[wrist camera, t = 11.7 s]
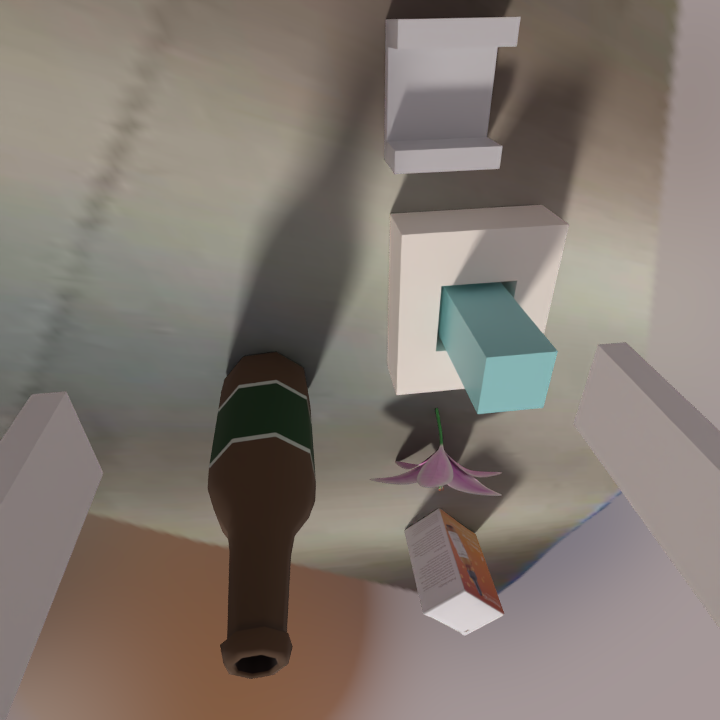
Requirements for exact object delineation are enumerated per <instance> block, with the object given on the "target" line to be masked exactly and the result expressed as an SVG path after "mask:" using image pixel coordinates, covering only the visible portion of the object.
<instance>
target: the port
mask: <svg viewBox="0 0 720 720" xmlns="http://www.w3.org/2000/svg"><path fill="white" fill-rule="evenodd" d="M568 227H569V224H568V223H567V222H565V221H564V220H562V219H561V218H560V217H558V216H557V215H556V214H554V213H553V212H551V211H550V210H549V209H547V208H546V207H544V206H543V205H528V206H511V207H494V208H477V209H460V210H443V211H425V212H408V213H391V214H390V244H389V297H388V350H387V366H388V369H389V372H390V375H391V379H392V382H393V385H394V389H395V392H396V395H403V394H414V393H424V392H435V391H445V390H456V389H465V388H464V386H463V384H462V382H461V379H460V377H459V375H458V373H457V371H456V369H455V367H454V365H453V363H452V361H451V359H450V357H449V355H448V353H447V351H446V349H445V347H444V345H443V343H442V341H441V339H440V337H439V335H438V333H437V332H438V321H439V309H440V297H441V286H450V285H464V284H477V283H491V282H501V283H502V285H503V286H504V287H505V288H506V289H507V291H508V292H509V293H510V294H511V295H512V297H513V298H514V299H515V300H516V302H517V303H518V304H519V305H520V306H521V308H522V309H523V310H524V311H525V312H526V314H527V315H528V316H529V317H530V318H531V320H532V321H533V322H534V323H535V325H536V326H537V327H538V328H539V329H540V331H541V332H542V333H543V334H544V331H545V327H546V323H547V318H548V314H549V310H550V305H551V301H552V297H553V292H554V288H555V284H556V279H557V275H558V271H559V266H560V262H561V258H562V253H563V249H564V245H565V240H566V236H567V232H568Z"/></svg>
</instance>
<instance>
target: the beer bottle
mask: <svg viewBox="0 0 720 720" xmlns="http://www.w3.org/2000/svg"><path fill="white" fill-rule="evenodd" d="M315 490H316V479H315V465H314V451H313V437H312V423H311V409H310V401H309V395H308V389H307V384H306V378H305V372H304V368H303V367H301V366H300V365H298V364H296V363H295V362H293V361H291V360H289V359H288V358H286V357H284V356H283V355H281V354H279V353H277V352H271V353H264V354H257V355H249V356H244V357H243V358H242V359H241V360H240V361H239V363H238V364H237V365H236V366H235V367H234V369H233V370H232V371H231V372H230V373H229V375H228V376H227V377H226V378H225V380H224V384H223V388H222V391H221V397H220V404H219V410H218V416H217V422H216V428H215V434H214V440H213V447H212V453H211V459H210V465H209V476H208V491H209V495H210V498H211V502H212V505H213V508H214V511H215V514H216V516H217V519H218V521H219V524H220V526H221V529H222V531H223V533H224V534H225V535H226V537H227V538H228V541H229V551H230V559H229V595H228V631H227V640H226V641H224V642H223V643H222V644H221V645H220V647H221V652H222V658H223V663H224V665H225V667H226V669H227V671H228V673H229V674H231V675H236V676H241V677H245V678H249V679H253V678H258V677H264V676H270V675H274V674H275V673H277V672H278V671H279V670H280V669H282V668H283V667H284V666H286V665H287V664H288V663H289V659H290V655H291V651H292V644H291V641H290V637H289V634H288V633H287V618H288V598H289V580H290V562H291V553H292V547H293V542H294V536H295V535H296V533H297V532H298V531H299V530H300V528H301V527H302V526H303V524H304V523H305V522H306V521H307V519H308V518H309V516H310V513H311V510H312V508H313V505H314V503H315Z"/></svg>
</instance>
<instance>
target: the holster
mask: <svg viewBox="0 0 720 720" xmlns="http://www.w3.org/2000/svg"><path fill="white" fill-rule="evenodd" d="M520 18H521V17H474V18H425V19H386V42H385V130H384V160H385V161H386V163H387V164H388V166H389V167H390V168H391V170H392V171H393V173H394V174H407V173H427V172H446V171H466V170H486V169H499V168H500V161H501V154H502V147H503V146H502V145H500V144H498V143H497V142H495V141H493V140H491V139H490V138H488V137H487V131H488V123H489V115H490V107H491V98H492V90H493V82H494V74H495V65H496V57H497V49H498V47H514V46H517V39H518V32H519V25H520Z"/></svg>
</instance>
